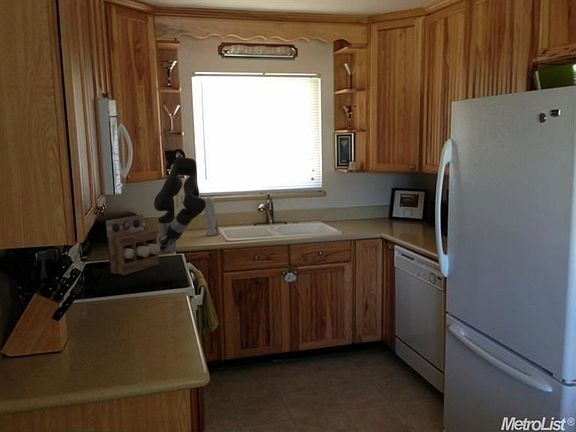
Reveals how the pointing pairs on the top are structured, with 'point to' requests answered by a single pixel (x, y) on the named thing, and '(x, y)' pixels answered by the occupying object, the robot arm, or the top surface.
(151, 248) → the button right
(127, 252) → the button left
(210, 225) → the skyscraper
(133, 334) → the top surface
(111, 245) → the brown toy oven
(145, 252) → the button middle
